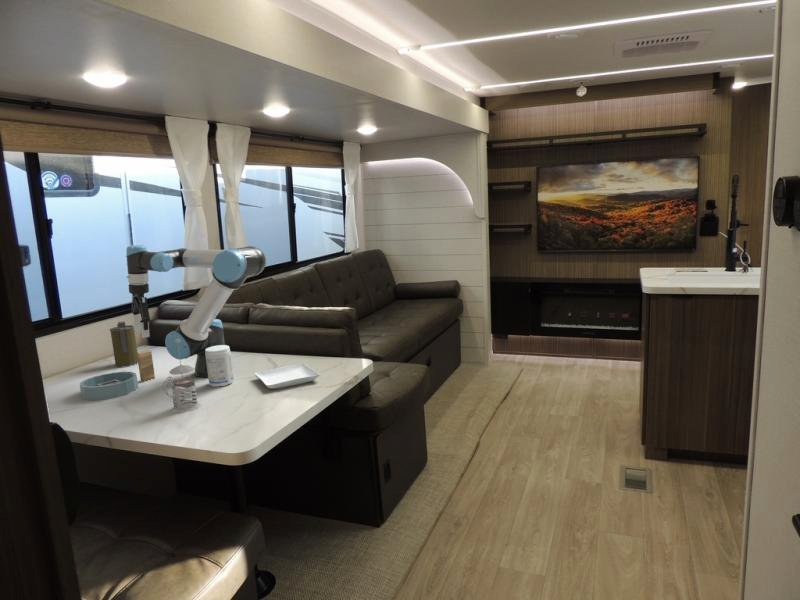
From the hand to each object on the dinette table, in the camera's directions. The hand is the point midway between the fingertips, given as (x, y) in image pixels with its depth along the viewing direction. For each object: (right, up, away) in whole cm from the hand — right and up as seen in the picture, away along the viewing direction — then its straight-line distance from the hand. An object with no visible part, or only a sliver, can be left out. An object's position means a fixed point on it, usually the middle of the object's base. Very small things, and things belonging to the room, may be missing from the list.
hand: (141, 333), depth 242 cm
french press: (+31, -24, -37) cm, 54 cm away
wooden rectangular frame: (+2, -19, +1) cm, 20 cm away
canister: (-20, -16, +29) cm, 39 cm away
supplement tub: (+37, -20, -11) cm, 43 cm away
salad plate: (+63, -18, -12) cm, 67 cm away
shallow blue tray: (-7, -22, -12) cm, 26 cm away
